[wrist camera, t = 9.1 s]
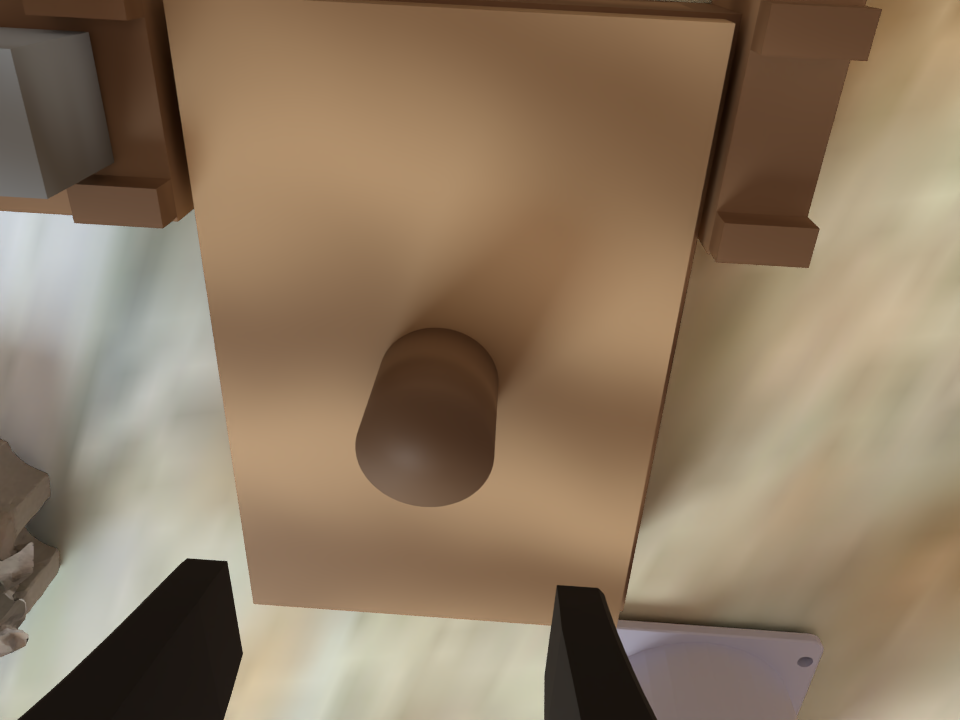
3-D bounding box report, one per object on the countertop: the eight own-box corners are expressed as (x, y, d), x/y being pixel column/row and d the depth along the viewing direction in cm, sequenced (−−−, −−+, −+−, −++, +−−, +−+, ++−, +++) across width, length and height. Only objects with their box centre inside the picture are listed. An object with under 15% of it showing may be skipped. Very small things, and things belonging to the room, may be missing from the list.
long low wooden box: (669, 552, 24) (695, 664, 20) (-111, 497, 25) (-224, 597, 21) (799, -13, 16) (884, 2, 12) (-367, -74, 17) (-627, -78, 13)
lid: (613, 607, 22) (628, 720, 19) (262, 583, 22) (218, 689, 19) (725, 18, 14) (782, 42, 11) (179, -10, 14) (82, 4, 11)
